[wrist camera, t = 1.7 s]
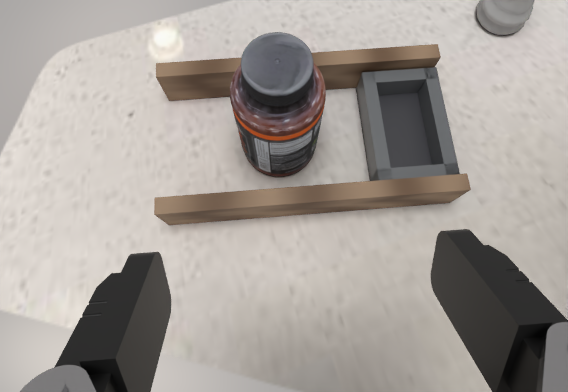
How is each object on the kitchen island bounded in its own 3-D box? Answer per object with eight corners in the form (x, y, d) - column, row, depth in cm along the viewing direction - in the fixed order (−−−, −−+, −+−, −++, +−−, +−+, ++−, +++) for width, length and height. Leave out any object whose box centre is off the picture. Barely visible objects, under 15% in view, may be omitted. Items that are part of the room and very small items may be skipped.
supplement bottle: (240, 115, 32) (219, 17, 21) (311, 109, 32) (325, 10, 22) (245, 182, 31) (224, 113, 20) (319, 176, 31) (339, 104, 20)
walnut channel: (422, 70, 34) (437, 44, 30) (449, 202, 30) (470, 189, 27) (169, 88, 33) (156, 63, 30) (168, 225, 30) (154, 214, 26)
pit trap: (425, 84, 33) (436, 67, 31) (446, 185, 31) (460, 175, 28) (356, 89, 33) (361, 72, 31) (371, 191, 30) (379, 181, 28)
